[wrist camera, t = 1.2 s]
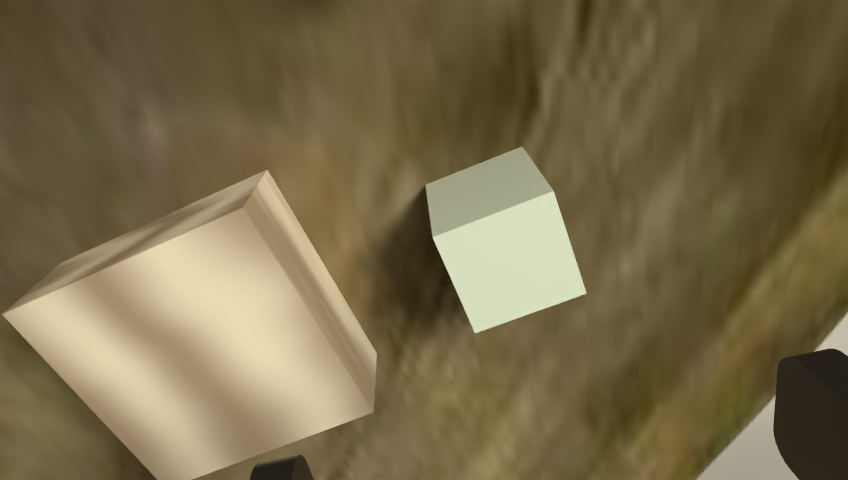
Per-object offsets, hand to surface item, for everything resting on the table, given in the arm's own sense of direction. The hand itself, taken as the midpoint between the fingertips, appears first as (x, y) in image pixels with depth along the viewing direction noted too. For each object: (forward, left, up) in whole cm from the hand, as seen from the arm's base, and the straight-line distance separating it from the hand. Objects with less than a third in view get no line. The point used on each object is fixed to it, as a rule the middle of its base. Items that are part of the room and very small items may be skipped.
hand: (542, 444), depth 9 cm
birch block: (+14, +4, -19) cm, 24 cm away
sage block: (-1, +4, -19) cm, 20 cm away
